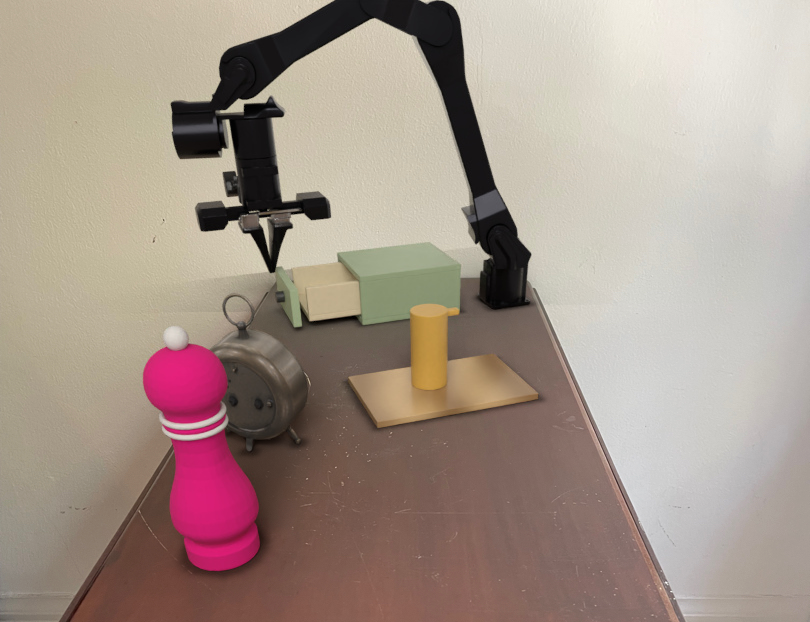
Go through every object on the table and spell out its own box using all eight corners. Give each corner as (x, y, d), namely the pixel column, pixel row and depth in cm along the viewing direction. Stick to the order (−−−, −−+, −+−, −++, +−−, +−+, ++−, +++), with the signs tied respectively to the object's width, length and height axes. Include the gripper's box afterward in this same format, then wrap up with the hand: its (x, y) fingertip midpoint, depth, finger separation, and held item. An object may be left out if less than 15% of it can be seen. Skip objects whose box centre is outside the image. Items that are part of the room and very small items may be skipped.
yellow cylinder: (449, 371, 88) (451, 300, 83) (463, 385, 85) (465, 311, 79) (406, 378, 87) (404, 306, 81) (418, 392, 83) (417, 318, 78)
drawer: (286, 328, 101) (281, 291, 98) (271, 302, 111) (266, 267, 108) (388, 314, 105) (387, 278, 102) (366, 289, 114) (364, 256, 111)
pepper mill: (247, 580, 58) (198, 348, 46) (167, 570, 59) (99, 342, 47) (277, 529, 63) (240, 311, 51) (203, 521, 65) (150, 306, 53)
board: (493, 358, 93) (493, 353, 92) (538, 399, 83) (538, 393, 83) (348, 382, 88) (347, 376, 88) (377, 428, 78) (377, 421, 78)
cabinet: (362, 325, 104) (359, 276, 100) (340, 297, 114) (336, 252, 110) (459, 311, 108) (461, 264, 104) (429, 285, 118) (429, 241, 114)
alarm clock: (315, 438, 77) (298, 289, 67) (294, 462, 73) (272, 307, 63) (229, 424, 80) (200, 280, 70) (203, 447, 76) (169, 297, 66)
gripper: (309, 143, 104) (320, 251, 114) (182, 153, 100) (204, 265, 109) (326, 153, 96) (336, 270, 105) (188, 165, 92) (211, 286, 101)
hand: (271, 272), depth 106 cm, fingers closed
